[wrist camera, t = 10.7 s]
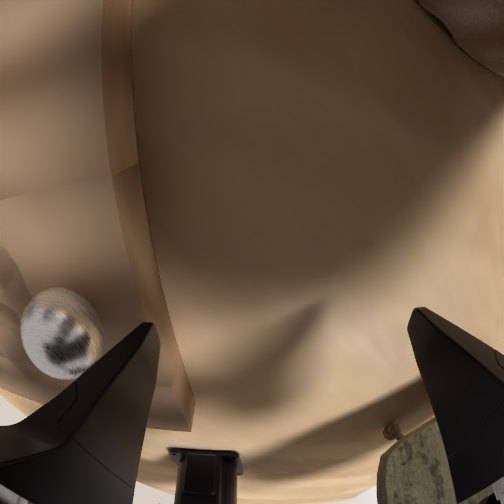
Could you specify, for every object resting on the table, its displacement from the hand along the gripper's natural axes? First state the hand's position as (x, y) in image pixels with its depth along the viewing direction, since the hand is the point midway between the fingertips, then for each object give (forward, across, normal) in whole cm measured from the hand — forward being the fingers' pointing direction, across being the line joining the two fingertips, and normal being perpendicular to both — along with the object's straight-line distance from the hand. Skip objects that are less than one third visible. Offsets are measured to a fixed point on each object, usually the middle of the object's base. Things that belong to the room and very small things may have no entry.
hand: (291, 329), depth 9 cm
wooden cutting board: (+4, +18, -1) cm, 19 cm away
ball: (0, +8, 0) cm, 8 cm away
